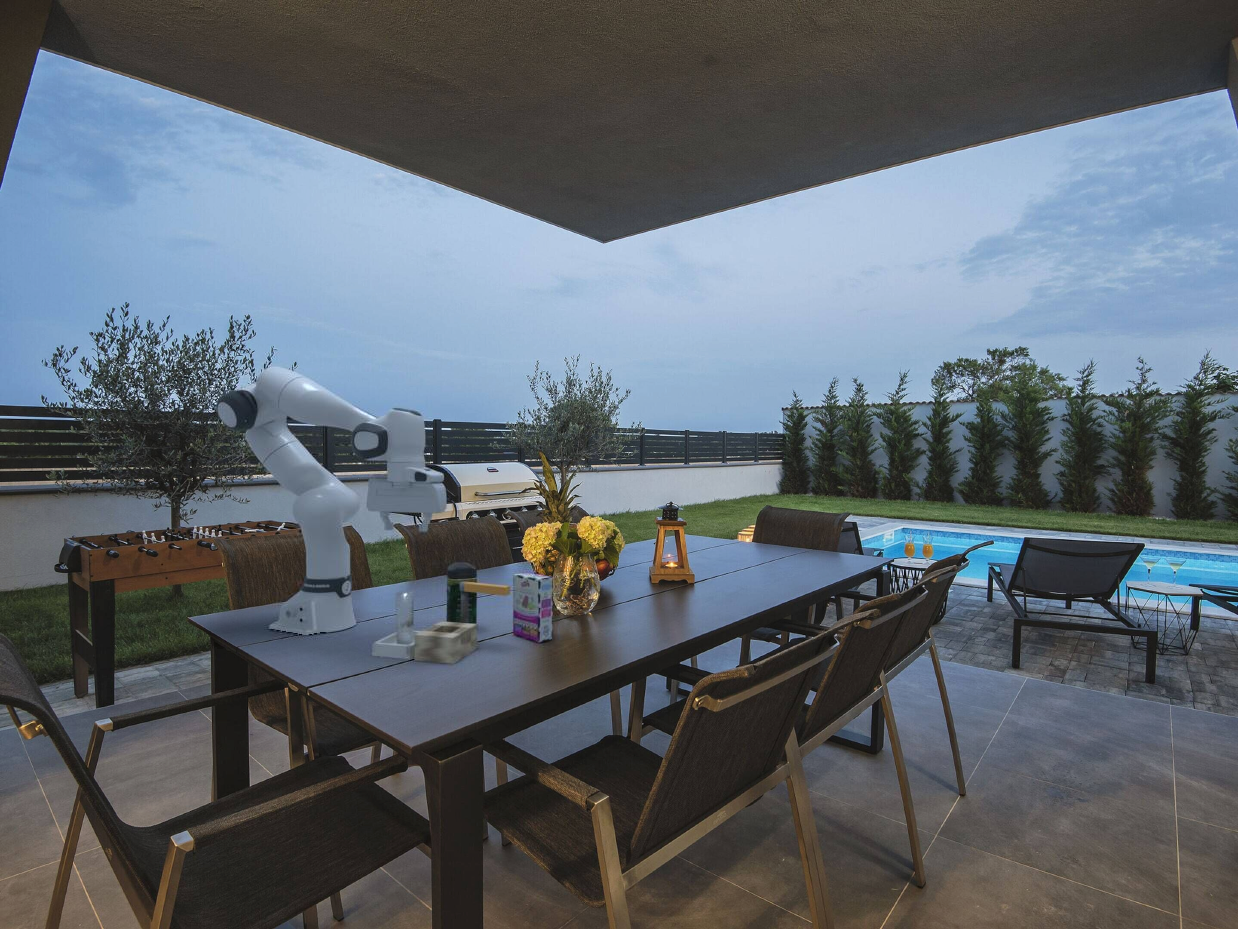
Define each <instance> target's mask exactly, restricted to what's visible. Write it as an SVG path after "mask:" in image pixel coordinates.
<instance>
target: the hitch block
mask: <svg viewBox="0 0 1238 929" xmlns="http://www.w3.org/2000/svg"><path fill="white" fill-rule="evenodd" d="M420 631H421V632H419V633H417V634H415V657H414V661H417V662H426V663H438V664H439V663H440V664H452V665H454V664H455V663H458V662H459V661H461V660H462V659H463V658H465V657H466V656H468V655H469V654H471V653H472V652H474V651H475V650H477V649H478V624H470V623H468V592H466V591H461V623H456V622H447V621H439V622H437V623H435V624H433V625H430V626H429V627H427V628H425V629H423V630H420Z"/></svg>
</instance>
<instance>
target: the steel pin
mask: <svg viewBox="0 0 1238 929" xmlns="http://www.w3.org/2000/svg"><path fill="white" fill-rule="evenodd" d="M395 593H396V594H395V595H396V596H395V602H396V604H395V608H396V609H395V610H396V613H395V614H396V616H395V617H396V618H395V624H396V629H395V630H396V631H395V632H396V644H403V645H409V644H411V643H413V642H414V631H415V630H414V629H415V628H414V627H415V626H414V622H415V620H414V618H415V617H414V612H415V610H414V591H411V590H409V591H408V590H405V591H403V590H402V591H398V592H395Z"/></svg>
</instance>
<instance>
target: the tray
mask: <svg viewBox="0 0 1238 929" xmlns="http://www.w3.org/2000/svg"><path fill="white" fill-rule="evenodd" d="M421 631H422V630H414V642H413V643H411V644H409V645H403V644H396V631H395V632H393V633H391V634H389V635H387V636H385V637H382V638H381V639H379V640H376V641H374V642H373V643H371V646H372V647H371V649H372V650H371V653H372V654H371V655H372V657H378V656H379V657H380V658H392V659H402V660H411V659H413V658H415V634H417V633H419V632H421ZM379 657H378V658H379Z"/></svg>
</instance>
